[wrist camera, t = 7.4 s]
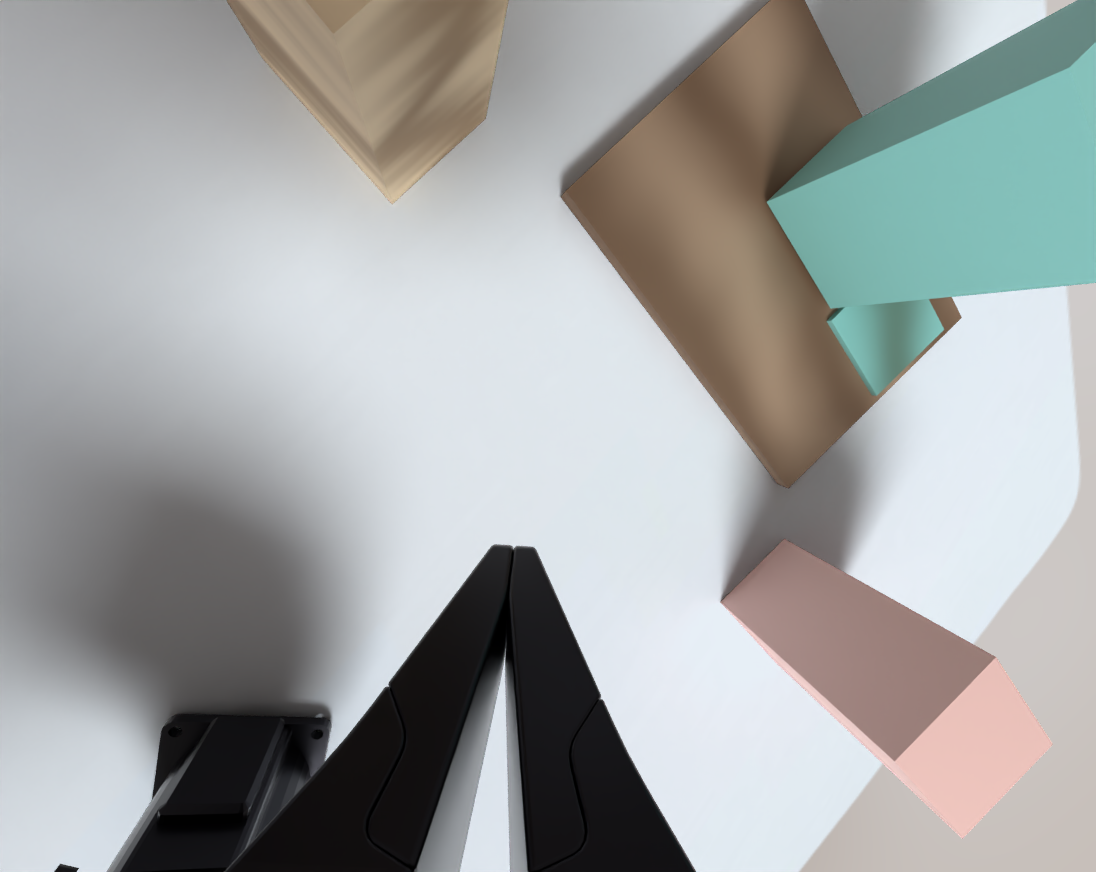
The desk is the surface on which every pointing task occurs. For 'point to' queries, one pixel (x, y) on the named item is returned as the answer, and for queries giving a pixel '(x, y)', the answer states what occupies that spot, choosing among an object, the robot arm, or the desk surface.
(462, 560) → the desk surface
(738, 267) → the walnut board
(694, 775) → the desk surface
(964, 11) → the desk surface
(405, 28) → the oak block
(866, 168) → the teal block
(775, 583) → the rose block
